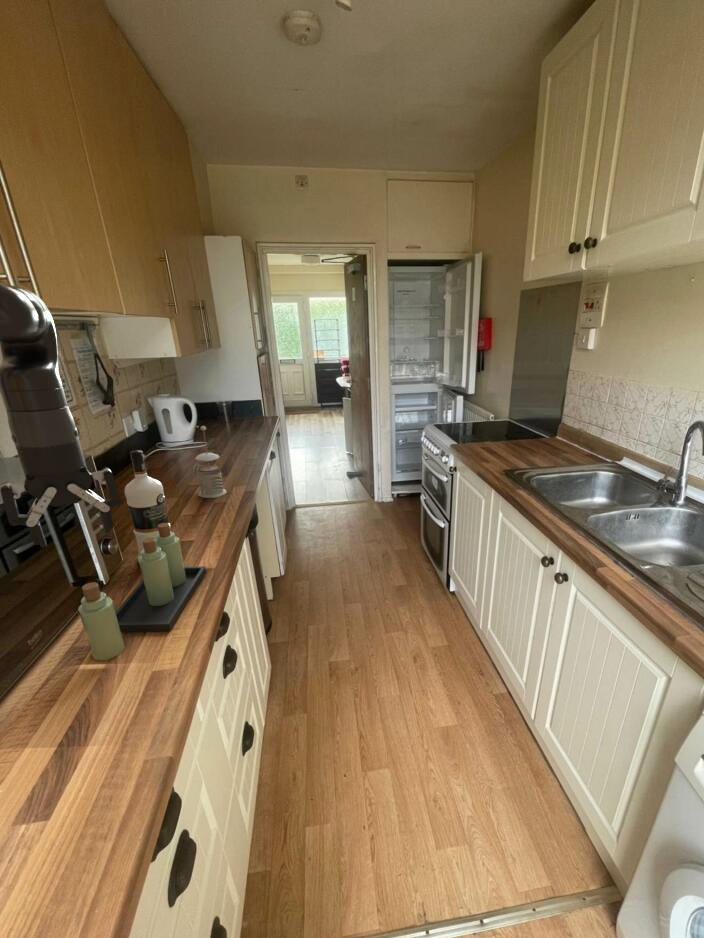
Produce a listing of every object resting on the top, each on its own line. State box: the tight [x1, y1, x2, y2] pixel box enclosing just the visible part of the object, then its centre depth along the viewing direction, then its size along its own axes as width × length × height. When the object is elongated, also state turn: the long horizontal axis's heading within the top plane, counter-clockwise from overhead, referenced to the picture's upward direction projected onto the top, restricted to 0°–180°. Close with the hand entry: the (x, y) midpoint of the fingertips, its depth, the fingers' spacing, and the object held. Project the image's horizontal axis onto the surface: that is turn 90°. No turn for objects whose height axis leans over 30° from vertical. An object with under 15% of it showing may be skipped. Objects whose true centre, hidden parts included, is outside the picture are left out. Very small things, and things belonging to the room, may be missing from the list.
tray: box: [115, 565, 207, 634], centre depth 96 cm, size 13×23×2 cm, turn 3°
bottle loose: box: [77, 581, 126, 661], centre depth 78 cm, size 5×5×15 cm
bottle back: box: [155, 522, 186, 587], centre depth 100 cm, size 5×5×15 cm
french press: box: [192, 425, 227, 499], centre depth 153 cm, size 10×12×25 cm
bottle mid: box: [138, 538, 174, 606], centre depth 93 cm, size 5×5×15 cm
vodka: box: [124, 449, 172, 565], centre depth 106 cm, size 9×9×30 cm
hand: (76, 538), depth 68 cm, fingers open, 8 cm apart
